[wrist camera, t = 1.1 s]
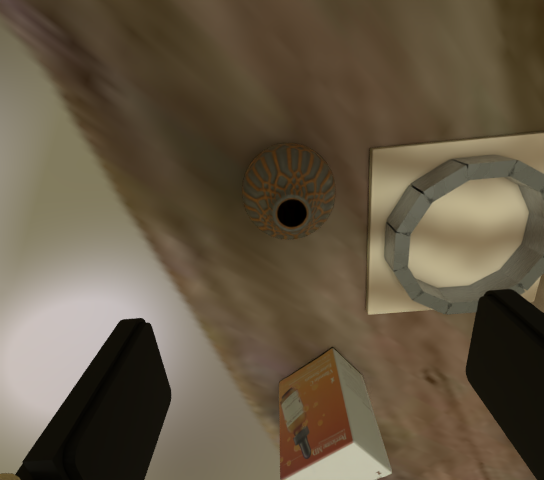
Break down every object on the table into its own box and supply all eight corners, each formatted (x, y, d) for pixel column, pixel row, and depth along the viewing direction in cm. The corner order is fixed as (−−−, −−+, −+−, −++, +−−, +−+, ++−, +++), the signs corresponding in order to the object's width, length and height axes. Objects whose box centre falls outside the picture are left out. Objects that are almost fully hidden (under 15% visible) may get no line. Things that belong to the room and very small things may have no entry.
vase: (343, 176, 27) (373, 208, 19) (289, 233, 29) (295, 283, 21) (283, 119, 26) (288, 129, 18) (229, 184, 28) (211, 219, 20)
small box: (332, 345, 35) (356, 440, 25) (363, 374, 36) (395, 474, 27) (276, 381, 37) (278, 482, 27) (307, 407, 39) (319, 511, 29)
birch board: (370, 148, 26) (372, 149, 26) (572, 128, 26) (580, 129, 25) (365, 309, 33) (368, 314, 32) (527, 297, 32) (533, 301, 31)
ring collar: (388, 164, 26) (399, 170, 24) (559, 148, 26) (587, 153, 23) (381, 302, 31) (390, 318, 29) (522, 291, 31) (542, 307, 29)
